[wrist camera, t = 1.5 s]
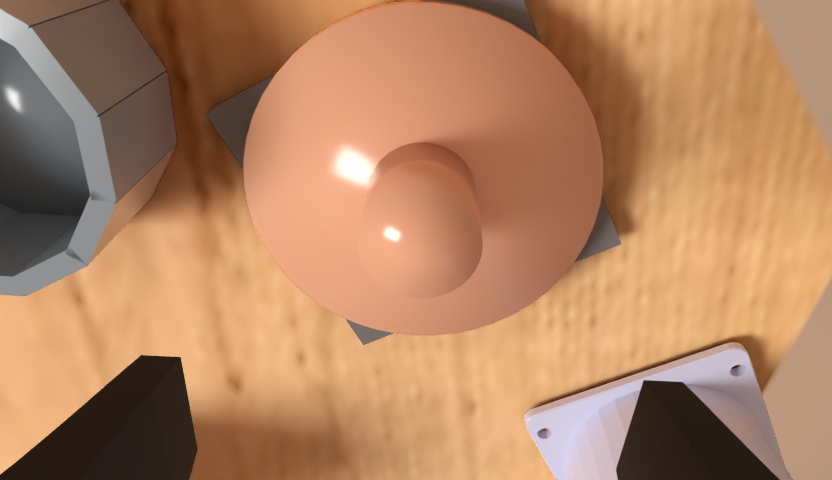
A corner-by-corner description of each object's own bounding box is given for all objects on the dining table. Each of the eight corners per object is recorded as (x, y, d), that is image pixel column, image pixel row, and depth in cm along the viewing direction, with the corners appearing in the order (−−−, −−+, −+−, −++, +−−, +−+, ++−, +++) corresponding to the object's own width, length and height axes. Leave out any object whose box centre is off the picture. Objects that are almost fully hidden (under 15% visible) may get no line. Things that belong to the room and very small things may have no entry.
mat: (616, 234, 19) (621, 243, 19) (365, 334, 22) (363, 344, 21) (503, -49, 16) (505, -46, 15) (211, 107, 18) (204, 114, 17)
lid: (642, 250, 19) (685, 325, 16) (358, 359, 21) (343, 445, 18) (516, -78, 15) (539, -69, 11) (180, 105, 17) (119, 157, 14)
